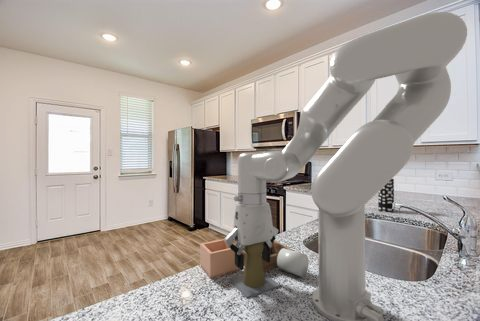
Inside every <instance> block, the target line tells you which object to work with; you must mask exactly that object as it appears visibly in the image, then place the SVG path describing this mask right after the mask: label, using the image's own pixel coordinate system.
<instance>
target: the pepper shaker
mask: <svg viewBox="0 0 480 321" xmlns="http://www.w3.org/2000/svg"><path fill="white" fill-rule="evenodd" d="M244 250H245V252H246V258H245V266H244V269H243V273H244V276H243V283H244V284H245V285H246V286H248V287H252V288H257V287H261V286H263V285H264V284H265V276H264V273H265V272H264V269H263V262H262V254H261V253H262V251H263V243H257V244H253V245H248V246H245V247H244Z"/></svg>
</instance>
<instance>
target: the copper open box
mask: <svg viewBox="0 0 480 321" xmlns="http://www.w3.org/2000/svg"><path fill="white" fill-rule="evenodd" d="M224 239H225V238H223V239H218V240H213V241H208V242H202V243H200V244H199V248H200V249H199V256H200V257H199V258H200V260H199V261H200V262H199V263H200V265H199V266H200V268H201V269H202V270H203V271H204V273H205V274H206V275H207V276H208V278H209V279H210V280H211V279H215V278H218V277H223V276H225V275H229V274H232V273H235V272H238V271H239V270H238V269H239V268H238V267H237V266H236V265H235V252H234V251H233V250H232V249H230V248H229V247H228V245H227V244H226V243H225V241H224Z"/></svg>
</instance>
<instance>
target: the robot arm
mask: <svg viewBox="0 0 480 321" xmlns="http://www.w3.org/2000/svg"><path fill="white" fill-rule="evenodd" d="M467 36H468V28H467V24H466V22H465V20H464V19H463V18H461V16H460V15H457V14H455V13H452V12H446V11H437V12H431V13H426V14H422V15H419V16H416V17H412V18H409V19H407V20H404V21H401V22H398V23H396V24H391V25H390V26H387V27H384V28H381V29H378V30H374V31H371V32H369V33H366V34H364V35H361V36H358V37H356V38H354V39H352V40H349V41H347V42H346V43H344V44H343V45H342V46H340V47H339V48H338V49H337V50H336V51H335V52H334V54H333V55H332V57H331V59H330V63H329V72H330V75H329V76H328V78H327V79H326V80H325V81H324V83H323V84H322V85H321V86H320V88H319V89H318V90H317V91H316V93H315V94H314V95H313V96H312V98H311V99H310V100H309V101H308V102H307V104H306V105H305V106H304V107H303V109H302V110H301V113H300V117H299V123H298V127H297V130H296V131H295V134H294V135H293V137H292V138H291V140H290V141H289V142H288V144H286V146H285V147H284V148H283V150H282V151H279V150H273V151H269V152H268V151H267V152H261V153H260V152H244V153H240V154H239V155H238V157H237V180H238V183H237V185H238V186H237V189H238V191H237V195H235V196H234V197H233V200H234V202H237V204H236V205H235V210H234V216H233V217H234V218H233V230H232V231H231V232H229V234H228V235H226V237H224V238H223V239H224V241H225V243H226V244H227V245H228V247H229V248H230V249H232V250H233V251H234V252H235V265H236V266H237V267H238V269H239V271H244V267H245V266H244V255H243V254H242V251H243V249H244V247H245V246H248V245H253V244H257V243H262V242H263V251H262V254H261V255H262V259H263V260H265V261H266V262H268V263H269V262H270V255H271V252H270V248H271V247H272V243H273V242H274V241H276V237H277V235H278V233H279V229H278V228H276V227H275V225H273V217H272V210H271V206H270V203H269V202H267V181H268V182H273V183H275V182H276V183H277V182H278V183H280V182H283V181H284V182H285V181H287V180H289V179H290V180H291V179H292V178H294V177H296V175H298V174H299V173H300V171H302V169H303V168H305V166H306V165H307V164H308V163H309V161H310V160H311V159H312V158H313V157H314V156H315V155H316V154H317V152H318V151H319V149H320V148H321V147H322V145H323V144H324V143H325V142H326V141H327V140H328V139H329V137H330V136H331V135H332V132H334V131H335V130H336V128H337V127H338V125H340V124H341V123H342V121H343V120H344V119H345V118H346V117H347V116H348V114H350V113H351V111H352V110H353V109H354V108H355V106H356V105H357V104H358V103H359V102H360V101H361V100H362V99H363V98H364V96H365V95H366V94H367V93H368V92H369V91H370V89H371V88H372V86H373V85H374V84H375V82H376V80H378V79H379V80H380V79H384V78H388V77H392V76H394V77H395V78H396V80H397V83H398V89H397V92H396V94H395V95H394V96H393V97H392V99H391V100H390V101H389V102H388V103H386V105H385V106H384V108H383V109H382V110H381V111H380V112H379V113H378V115H376V116H375V118H374V119H373V120H371V121H369V122H367V123H365V124H363V125H361V126H360V127H359V128H358V129H357V130H355V132H354V133H353V134H352V135H351V136H350V137H349V138H348V139H347V140H346V142H344V144H343V145H341V147H340V148H339V149H338V151H337V152H336V153H334V155H333V156H332V157H331V158H330V160H329V161H328V162H327V163H326V164H325V165H324V166H323V167H322V168H321V169H320V170H319V172H317V174H316V176H315V177H314V178H313V181H312V184H311V186H310V187H311V189H310V190H311V198H312V200H313V203H314V204H315V205H316V207H317V208H318V224H317V226H318V228H317V229H318V233H317V235H318V237H317V239H318V242H317V243H318V244H317V245H318V246H317V247H318V250H317V251H318V287H317V288H316V289H315V290H313V292H312V293H311V303H312V304H313V305H312V306H313V307H314V308H315V310H317V312H318V313H320V315H322V316H323V317H325V318H326V319H329V320H331V321H384V315H383V314H384V312H385V311H384V308H382V307H380V306H378V305H376V304H374V303H373V302H372V300H371V297H372V295H371V292H368V291H366V245H365V244H366V216H365V215H366V214H365V212H366V211H365V208H366V204H367V203H369V201H370V200H372V199H373V197H375V196H376V195H378V192H379V191H380V190H381V189H382V188H383V187H384V186H385V185H386V184H387V183H388V182H389V181H390V180H391V179H394V177H395V176H397V175H398V173H400V171H401V170H403V168H404V167H405V166H406V165H407V164H408V162H409V161H410V159H411V157H412V156H413V153H414V152H413V151H414V144H415V143H416V142H417V141H418V139H420V137H421V136H423V134H424V133H425V132H426V131H427V130H428V129H429V128H430V127H431V125H432V124H434V123H435V121H436V120H437V119H438V118H439V117H440V116H441V114H442V113H443V112H444V110H445V109H446V107H447V106H448V104H449V101H450V98H451V93H452V83H451V77H450V74H449V72H448V69H447V66H448V65H449V64H450V63H451V62H452V61H453V60H454V59H455V58H456V57H457V55H458V54H459V53H460V51H461V50H462V49H463V47H464V45H465V44H466V40H467ZM233 240H234V241H235V243H233Z"/></svg>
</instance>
